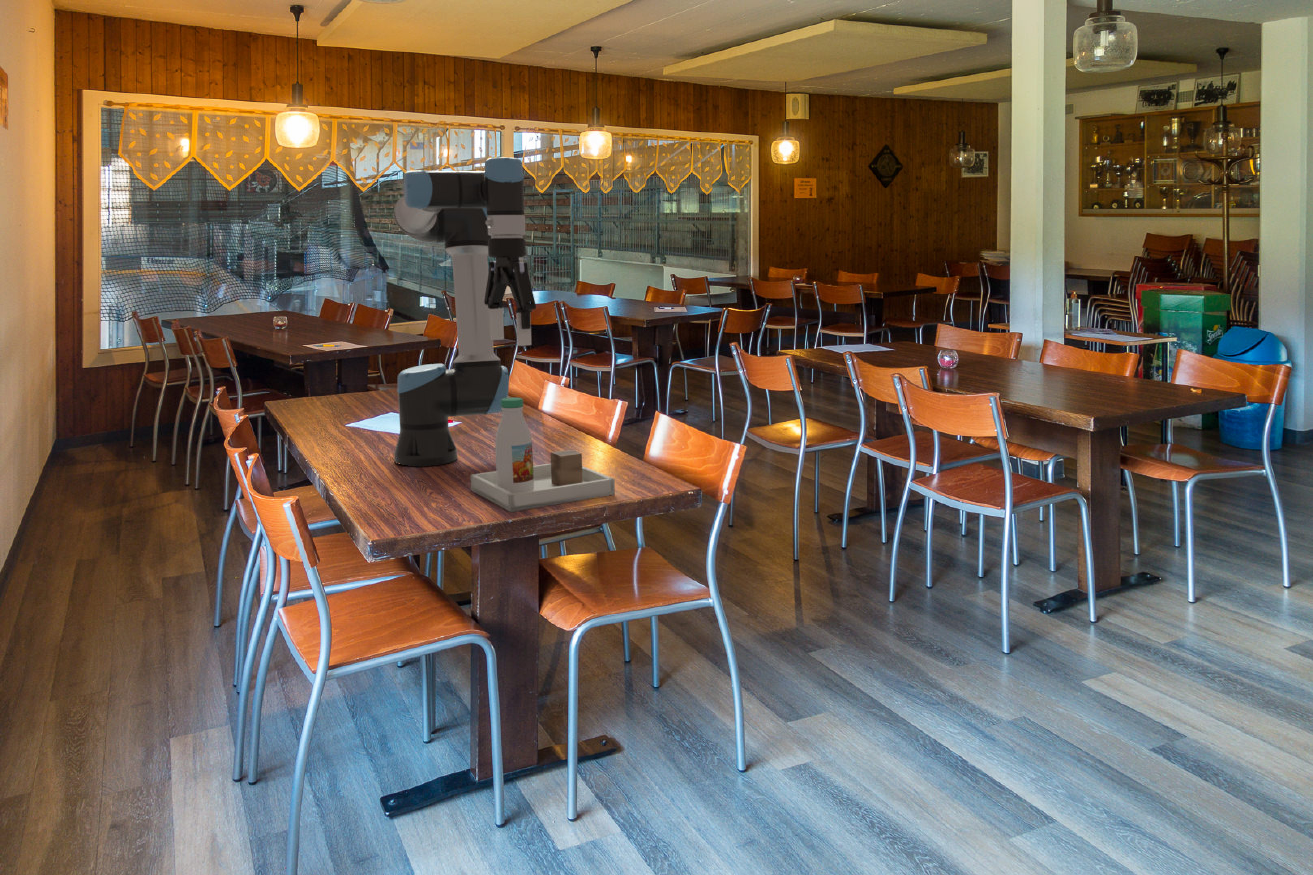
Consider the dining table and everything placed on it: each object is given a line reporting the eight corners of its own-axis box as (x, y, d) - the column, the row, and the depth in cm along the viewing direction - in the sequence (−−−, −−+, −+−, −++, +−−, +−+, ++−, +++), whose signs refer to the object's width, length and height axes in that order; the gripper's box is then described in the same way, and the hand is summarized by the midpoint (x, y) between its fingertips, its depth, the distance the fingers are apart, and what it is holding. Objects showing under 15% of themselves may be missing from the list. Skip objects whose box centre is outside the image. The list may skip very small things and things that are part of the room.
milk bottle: (499, 497, 208) (495, 402, 204) (495, 489, 215) (491, 397, 211) (536, 494, 210) (533, 400, 206) (531, 486, 217) (527, 395, 213)
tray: (471, 490, 218) (470, 474, 218) (569, 475, 231) (569, 460, 230) (510, 512, 201) (510, 495, 200) (614, 494, 213) (614, 478, 213)
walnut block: (551, 483, 220) (550, 452, 218) (571, 480, 222) (571, 449, 221) (561, 488, 215) (561, 456, 214) (582, 484, 218) (581, 453, 217)
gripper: (465, 237, 210) (470, 338, 215) (514, 237, 190) (519, 349, 194) (499, 237, 214) (503, 336, 219) (550, 236, 194) (554, 346, 198)
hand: (510, 342), depth 206 cm, fingers open, 13 cm apart
